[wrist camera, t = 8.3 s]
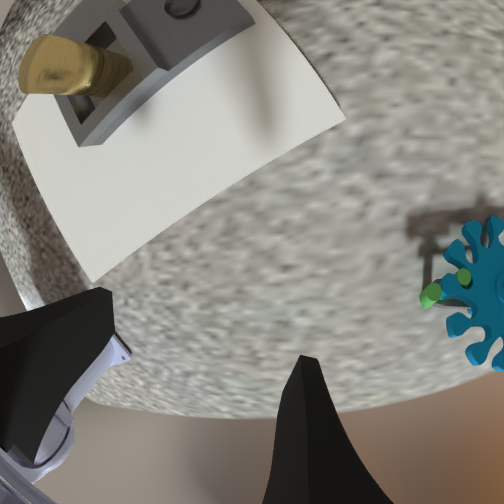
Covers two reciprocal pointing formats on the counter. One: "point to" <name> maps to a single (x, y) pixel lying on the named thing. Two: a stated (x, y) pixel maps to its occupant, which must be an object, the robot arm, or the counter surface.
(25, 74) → the pin
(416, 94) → the counter surface
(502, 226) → the gear
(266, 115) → the mat
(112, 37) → the plate
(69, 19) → the plate
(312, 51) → the counter surface
